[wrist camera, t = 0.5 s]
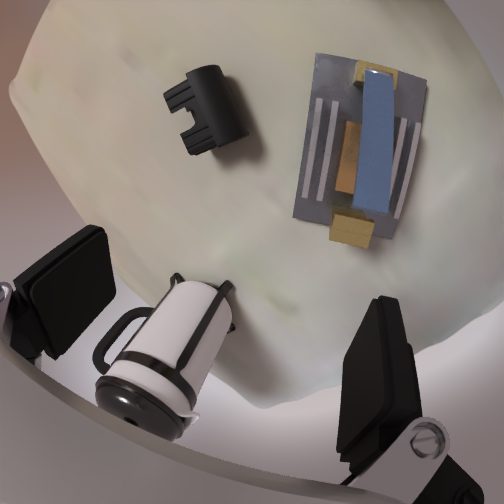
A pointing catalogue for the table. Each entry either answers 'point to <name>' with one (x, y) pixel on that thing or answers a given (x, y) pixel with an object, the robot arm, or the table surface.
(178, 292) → the coffee press
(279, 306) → the table surface
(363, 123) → the strap
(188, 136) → the end cap
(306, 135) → the block
